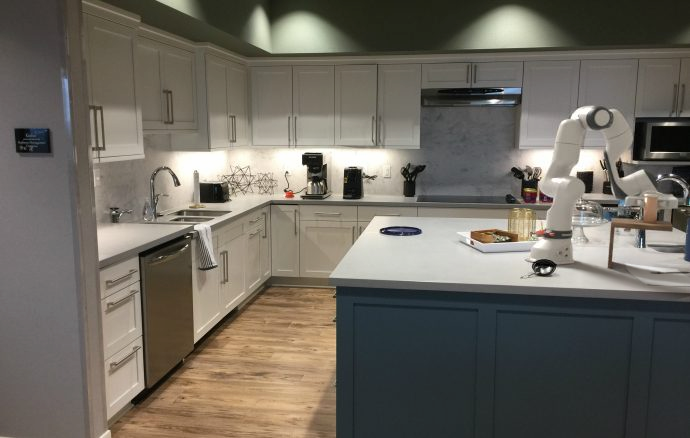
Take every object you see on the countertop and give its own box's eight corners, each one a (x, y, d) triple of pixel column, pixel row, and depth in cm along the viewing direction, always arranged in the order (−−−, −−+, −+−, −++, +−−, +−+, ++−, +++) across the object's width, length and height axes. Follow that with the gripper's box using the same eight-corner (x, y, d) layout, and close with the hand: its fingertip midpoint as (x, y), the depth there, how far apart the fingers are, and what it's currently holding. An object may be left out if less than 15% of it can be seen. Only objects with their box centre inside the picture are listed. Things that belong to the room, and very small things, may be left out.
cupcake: (541, 244, 295) (542, 222, 294) (531, 241, 304) (532, 219, 302) (555, 244, 298) (556, 221, 296) (545, 241, 306) (547, 218, 304)
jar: (652, 223, 240) (653, 195, 239) (640, 222, 245) (641, 194, 243) (659, 222, 243) (660, 194, 241) (647, 221, 247) (649, 193, 246)
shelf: (608, 261, 260) (611, 217, 257) (665, 266, 250) (670, 221, 247) (607, 268, 246) (611, 222, 243) (668, 274, 236) (672, 226, 233)
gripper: (625, 192, 258) (625, 195, 246) (677, 194, 249) (679, 198, 237) (624, 206, 259) (624, 209, 247) (675, 209, 250) (678, 213, 238)
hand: (651, 204), depth 242 cm, fingers open, 6 cm apart
